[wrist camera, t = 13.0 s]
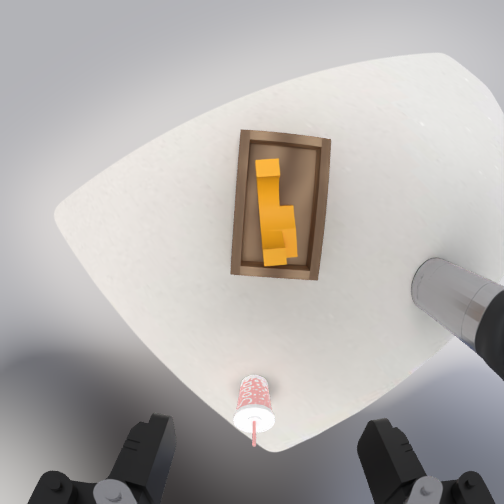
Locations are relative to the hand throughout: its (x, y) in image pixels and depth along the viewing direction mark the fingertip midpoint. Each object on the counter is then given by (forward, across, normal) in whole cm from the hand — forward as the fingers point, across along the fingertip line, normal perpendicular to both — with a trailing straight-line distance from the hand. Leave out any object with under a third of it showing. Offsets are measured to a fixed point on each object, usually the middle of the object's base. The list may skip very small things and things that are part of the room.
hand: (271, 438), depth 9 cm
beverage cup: (+30, -1, +22) cm, 37 cm away
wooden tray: (+30, -2, -8) cm, 31 cm away
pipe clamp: (+30, -2, -7) cm, 31 cm away
